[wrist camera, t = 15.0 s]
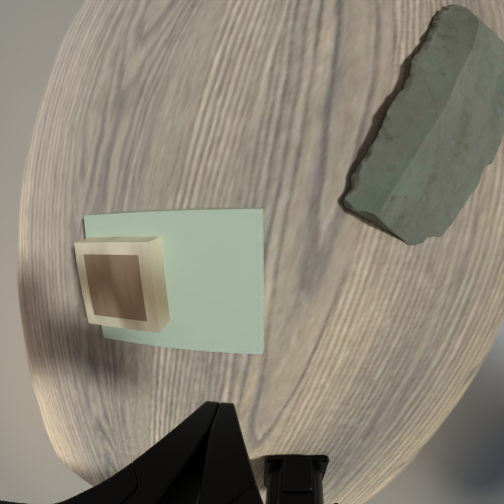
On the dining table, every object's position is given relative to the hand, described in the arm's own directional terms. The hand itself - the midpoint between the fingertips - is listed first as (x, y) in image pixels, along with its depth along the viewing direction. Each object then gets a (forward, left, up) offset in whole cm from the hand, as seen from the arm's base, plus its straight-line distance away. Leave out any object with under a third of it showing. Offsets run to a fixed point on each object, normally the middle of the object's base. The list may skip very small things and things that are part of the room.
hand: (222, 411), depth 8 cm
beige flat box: (0, +6, -10) cm, 12 cm away
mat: (0, +6, -12) cm, 13 cm away
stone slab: (+12, -15, -13) cm, 23 cm away
